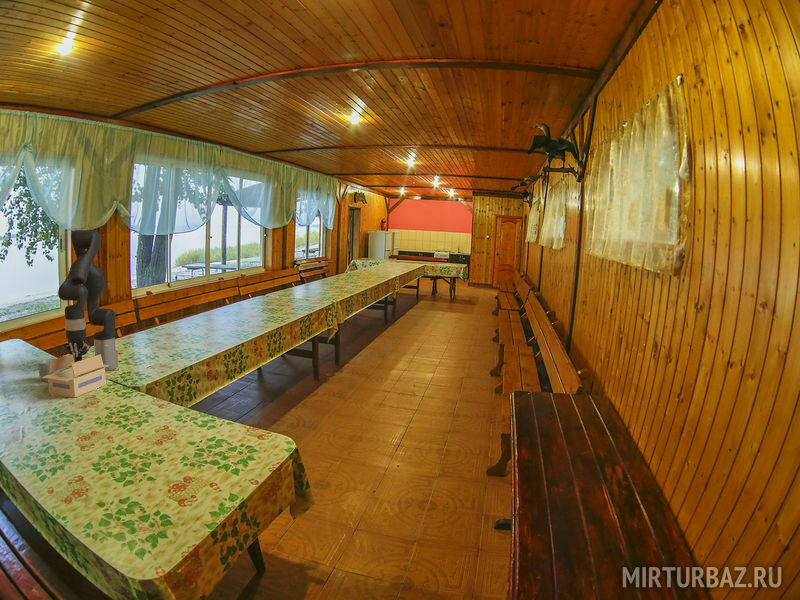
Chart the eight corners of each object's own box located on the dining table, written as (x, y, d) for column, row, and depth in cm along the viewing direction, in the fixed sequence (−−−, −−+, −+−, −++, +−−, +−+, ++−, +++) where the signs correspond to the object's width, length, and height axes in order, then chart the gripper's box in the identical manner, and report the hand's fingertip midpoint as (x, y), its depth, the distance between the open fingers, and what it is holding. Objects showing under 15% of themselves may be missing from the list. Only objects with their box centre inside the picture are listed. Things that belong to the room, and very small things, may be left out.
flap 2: (74, 376, 186) (74, 376, 186) (70, 363, 185) (71, 363, 185) (103, 366, 200) (103, 366, 200) (100, 354, 199) (100, 354, 199)
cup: (48, 384, 200) (46, 364, 198) (35, 382, 201) (33, 362, 200) (64, 378, 207) (63, 359, 206) (51, 376, 209) (50, 357, 207)
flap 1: (79, 363, 202) (78, 362, 202) (80, 351, 201) (80, 351, 201) (49, 372, 188) (48, 372, 188) (50, 360, 187) (49, 360, 187)
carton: (87, 379, 208) (86, 361, 206) (111, 383, 205) (110, 365, 204) (42, 396, 186) (40, 377, 184) (68, 400, 184) (66, 380, 182)
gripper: (95, 327, 193) (97, 363, 196) (71, 324, 195) (74, 359, 198) (80, 331, 186) (82, 367, 188) (55, 328, 188) (58, 364, 191)
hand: (78, 363), depth 193 cm, fingers closed
